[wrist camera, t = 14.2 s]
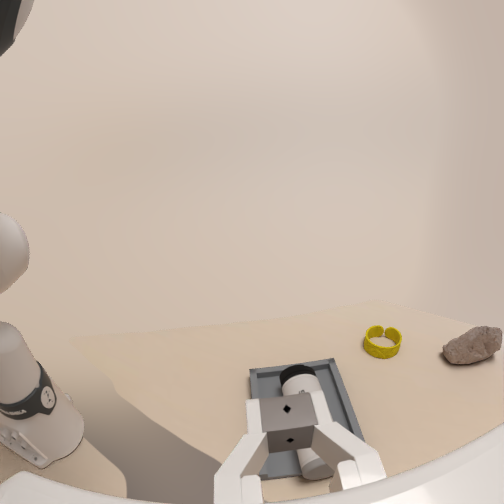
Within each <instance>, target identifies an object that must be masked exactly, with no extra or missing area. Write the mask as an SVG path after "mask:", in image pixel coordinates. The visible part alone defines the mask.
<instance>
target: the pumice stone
mask: <svg viewBox="0 0 504 504" xmlns="http://www.w3.org/2000/svg"><path fill="white" fill-rule="evenodd" d="M501 344H502V331H501V330H500V328H495V327H493V328H491V327H487V326H481V327H475V328H472V329H470V330H469V331H468V332H466V333H465V334H463V335H461V336H460V337H458V338H455V339H452V340H451V341H450V342H448V344H447V345H444V346H443V354H444V356H445V357H446V358H447V359H448V361H449V362H450V363H453V364H466V363H467V364H470V363H472V362H476V361H481V360H485V359H486V358H488V357H490V356H491V355H492V354H493V353H495V352H496V351H498V350H500V348H501Z"/></svg>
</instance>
